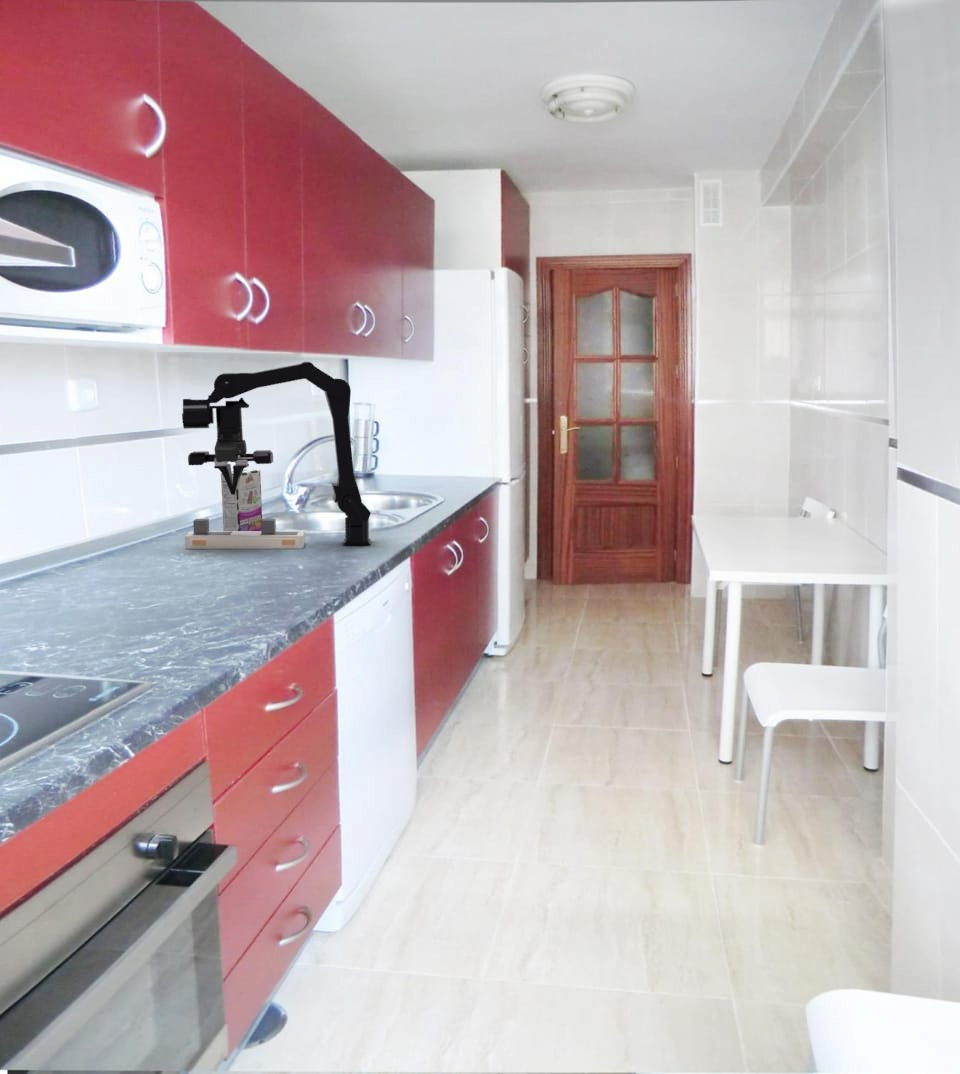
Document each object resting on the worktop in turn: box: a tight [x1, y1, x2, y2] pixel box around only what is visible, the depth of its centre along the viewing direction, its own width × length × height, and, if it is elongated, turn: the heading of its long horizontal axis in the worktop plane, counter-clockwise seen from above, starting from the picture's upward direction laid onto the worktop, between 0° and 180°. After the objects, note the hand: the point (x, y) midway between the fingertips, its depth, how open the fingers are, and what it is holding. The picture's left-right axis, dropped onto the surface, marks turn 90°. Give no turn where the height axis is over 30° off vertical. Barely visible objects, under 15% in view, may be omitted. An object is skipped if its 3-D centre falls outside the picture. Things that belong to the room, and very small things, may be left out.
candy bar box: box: [220, 468, 263, 531], centre depth 234 cm, size 11×5×16 cm, turn 162°
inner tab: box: [261, 518, 277, 533], centre depth 220 cm, size 3×3×3 cm
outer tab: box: [193, 518, 210, 533], centre depth 219 cm, size 3×3×3 cm
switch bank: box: [184, 530, 306, 550], centre depth 220 cm, size 7×27×3 cm, turn 96°
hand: (233, 494), depth 218 cm, fingers closed
